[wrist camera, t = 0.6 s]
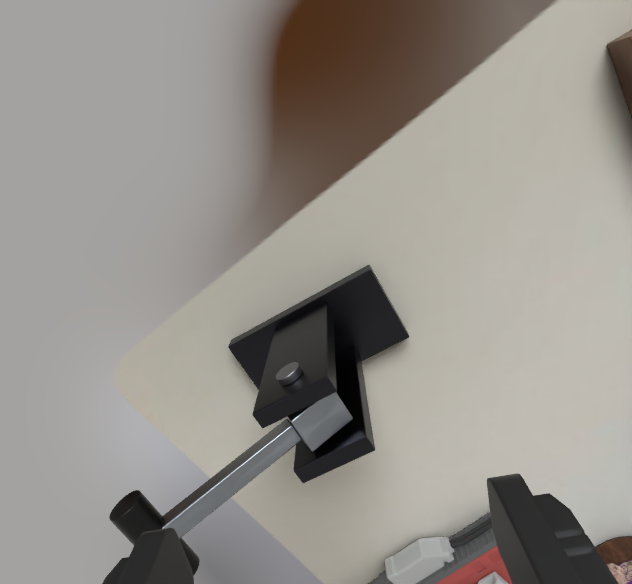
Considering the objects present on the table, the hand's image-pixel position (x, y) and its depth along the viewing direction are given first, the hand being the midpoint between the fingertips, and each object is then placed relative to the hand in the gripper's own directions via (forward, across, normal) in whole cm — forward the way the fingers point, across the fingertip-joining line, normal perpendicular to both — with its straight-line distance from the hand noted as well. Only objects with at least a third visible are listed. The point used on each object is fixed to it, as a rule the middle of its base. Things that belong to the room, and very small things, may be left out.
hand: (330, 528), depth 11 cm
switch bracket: (+22, +2, +5) cm, 23 cm away
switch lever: (+11, +6, +6) cm, 14 cm away
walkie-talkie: (+22, -4, +30) cm, 38 cm away
